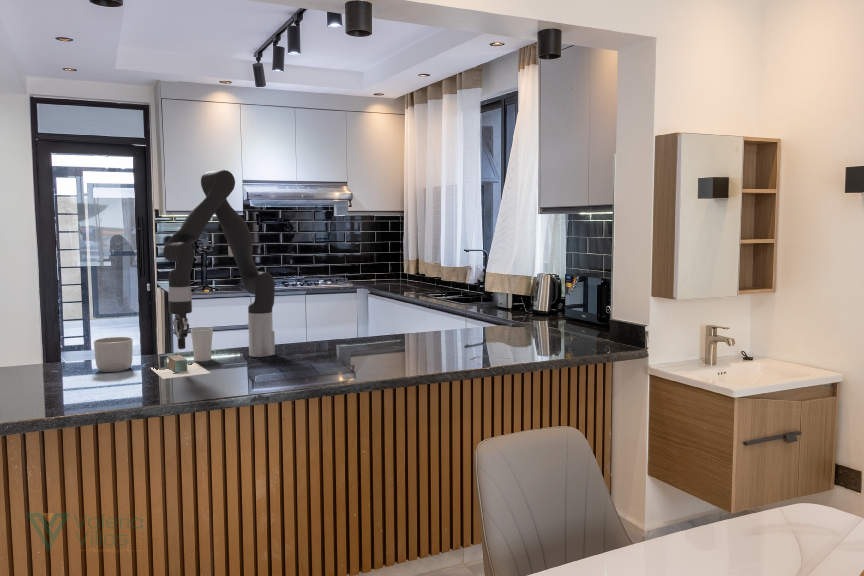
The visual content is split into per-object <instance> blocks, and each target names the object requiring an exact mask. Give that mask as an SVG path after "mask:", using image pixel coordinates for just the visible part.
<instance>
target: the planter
mask: <svg viewBox="0 0 864 576" xmlns="http://www.w3.org/2000/svg"><path fill="white" fill-rule="evenodd" d="M93 347H94V348H93V349H94V358H95V359H94V360H95V365H96V369H97V370H98V371H100V372H103V373H119V372H123V371H127V370H129V369H130V368H131V367H132V364H133V350H134V349H133V338H132V337H129V336H113V337H112V336H111V337H102V338H97V339H95V340H94V341H93Z"/></svg>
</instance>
